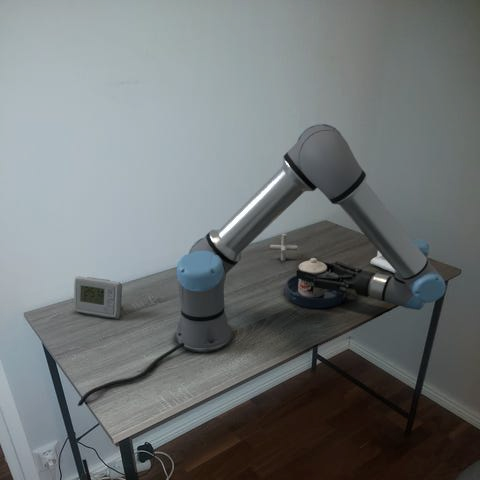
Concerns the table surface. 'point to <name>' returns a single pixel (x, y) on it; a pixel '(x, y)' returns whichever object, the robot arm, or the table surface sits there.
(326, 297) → the bowl
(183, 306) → the robot arm
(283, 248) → the pipe connector
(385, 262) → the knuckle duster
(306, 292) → the teacup with lid
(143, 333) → the table surface
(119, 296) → the digital clock
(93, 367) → the table surface
